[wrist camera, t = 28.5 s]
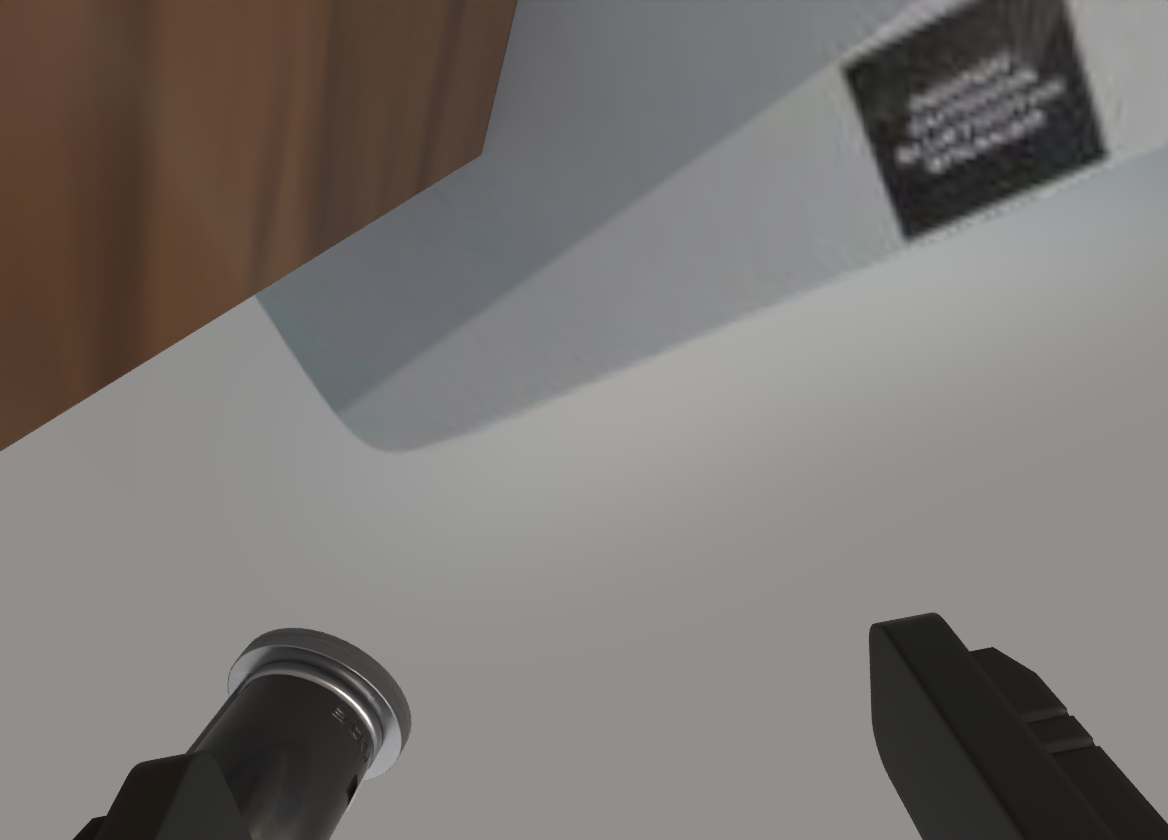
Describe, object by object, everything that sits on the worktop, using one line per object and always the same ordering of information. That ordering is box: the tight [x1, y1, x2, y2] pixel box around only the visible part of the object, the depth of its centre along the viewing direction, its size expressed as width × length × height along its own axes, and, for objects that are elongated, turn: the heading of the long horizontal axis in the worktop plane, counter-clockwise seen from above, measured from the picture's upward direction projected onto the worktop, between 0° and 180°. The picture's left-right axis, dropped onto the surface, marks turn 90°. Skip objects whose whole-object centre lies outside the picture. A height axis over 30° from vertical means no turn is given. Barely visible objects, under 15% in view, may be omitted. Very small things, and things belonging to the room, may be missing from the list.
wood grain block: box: [0, 0, 517, 451], centre depth 19 cm, size 8×8×32 cm
